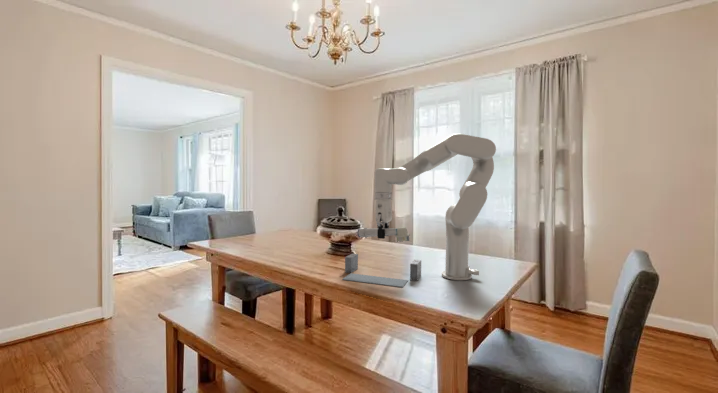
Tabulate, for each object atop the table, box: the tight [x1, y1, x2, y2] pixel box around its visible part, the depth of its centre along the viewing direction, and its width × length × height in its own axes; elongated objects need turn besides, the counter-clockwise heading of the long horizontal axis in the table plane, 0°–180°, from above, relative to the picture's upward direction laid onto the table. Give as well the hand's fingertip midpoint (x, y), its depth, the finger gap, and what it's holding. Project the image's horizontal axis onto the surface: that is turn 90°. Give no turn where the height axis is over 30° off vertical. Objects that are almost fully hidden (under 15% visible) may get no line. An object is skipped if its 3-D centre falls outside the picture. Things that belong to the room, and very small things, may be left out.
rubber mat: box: [341, 272, 409, 288], centre depth 142 cm, size 26×9×1 cm, turn 68°
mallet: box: [356, 226, 411, 243], centre depth 150 cm, size 5×7×25 cm
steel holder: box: [344, 253, 422, 282], centre depth 151 cm, size 33×8×7 cm, turn 68°
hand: (383, 236), depth 150 cm, fingers closed on mallet, 5 cm apart
